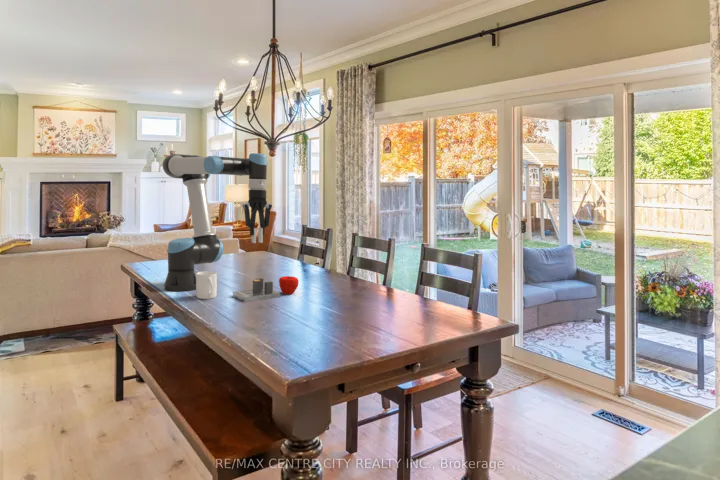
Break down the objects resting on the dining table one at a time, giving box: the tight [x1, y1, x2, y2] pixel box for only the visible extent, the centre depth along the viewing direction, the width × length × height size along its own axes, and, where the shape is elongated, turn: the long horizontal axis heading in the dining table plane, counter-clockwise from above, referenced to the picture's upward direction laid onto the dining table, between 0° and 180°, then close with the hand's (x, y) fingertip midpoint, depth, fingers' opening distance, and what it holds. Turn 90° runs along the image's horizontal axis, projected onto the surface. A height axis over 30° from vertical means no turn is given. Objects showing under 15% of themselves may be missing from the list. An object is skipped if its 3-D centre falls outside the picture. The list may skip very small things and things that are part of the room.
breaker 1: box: [254, 277, 264, 290], centre depth 223 cm, size 2×3×5 cm, turn 129°
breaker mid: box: [252, 279, 261, 293], centre depth 217 cm, size 2×3×5 cm, turn 129°
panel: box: [232, 287, 281, 303], centre depth 218 cm, size 12×17×2 cm
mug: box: [195, 271, 218, 300], centre depth 213 cm, size 9×12×11 cm
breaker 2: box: [263, 280, 274, 294], centre depth 216 cm, size 2×3×5 cm, turn 129°
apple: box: [278, 275, 299, 295], centre depth 226 cm, size 9×9×8 cm
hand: (257, 242), depth 215 cm, fingers open, 3 cm apart
